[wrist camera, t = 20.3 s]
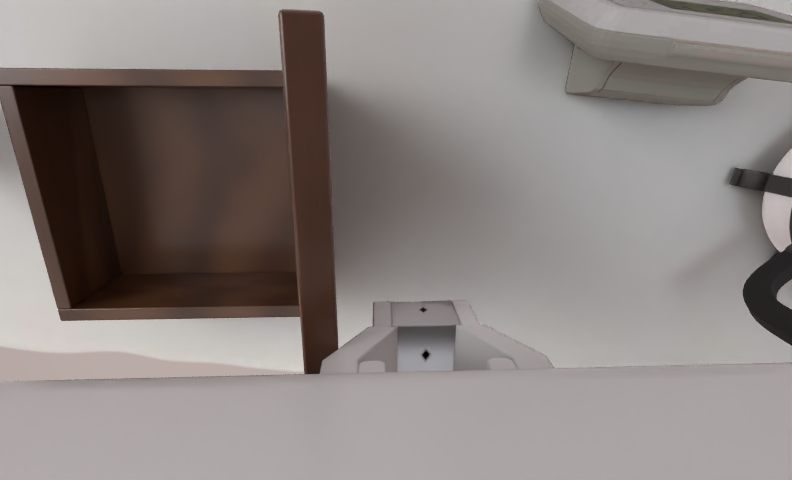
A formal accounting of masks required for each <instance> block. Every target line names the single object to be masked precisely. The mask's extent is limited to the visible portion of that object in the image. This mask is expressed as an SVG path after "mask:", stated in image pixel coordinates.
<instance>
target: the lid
mask: <svg viewBox="0 0 792 480" xmlns="http://www.w3.org/2000/svg"><path fill="white" fill-rule="evenodd" d="M278 18H279V31H280V45H281V59H282V72H283V86H284V99H285V113H286V127H287V140H288V154H289V168H290V181H291V195H292V209H293V222H294V236H295V249H296V263H297V277H298V290H299V304H300V318H301V331H302V345H303V359H304V372H305V374H320V369H321V365H322V361H323V360H324V359H326V358H327V357H328V356H330V355H331V354H332V353H334V352H335V351H336V350H338V329H337V306H336V282H335V259H334V236H333V212H332V189H331V165H330V142H329V119H328V95H327V72H326V48H325V25H324V15H323V13H322V12H320V11H309V10H289V9H282V10H280V11H279V14H278Z"/></svg>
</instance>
